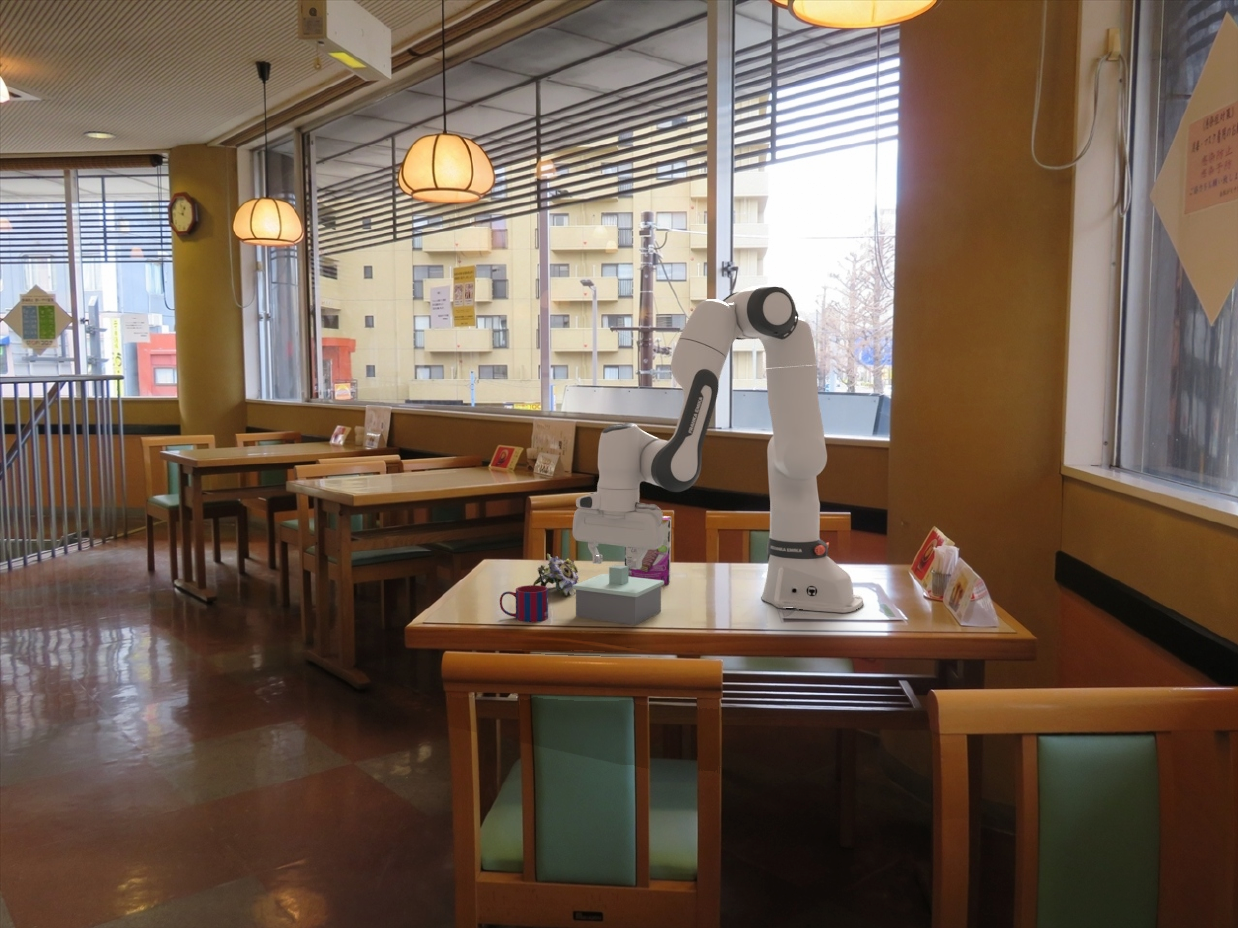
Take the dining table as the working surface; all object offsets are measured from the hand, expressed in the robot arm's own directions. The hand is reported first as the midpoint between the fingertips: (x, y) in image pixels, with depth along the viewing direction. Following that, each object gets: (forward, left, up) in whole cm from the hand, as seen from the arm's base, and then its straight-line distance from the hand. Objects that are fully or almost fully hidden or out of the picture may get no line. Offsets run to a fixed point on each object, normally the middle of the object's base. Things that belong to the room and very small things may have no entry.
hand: (616, 565), depth 200 cm
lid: (0, 0, -6) cm, 6 cm away
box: (0, 0, -11) cm, 11 cm away
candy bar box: (+9, -32, -11) cm, 35 cm away
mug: (+16, +12, -11) cm, 23 cm away
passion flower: (+22, -10, -11) cm, 26 cm away
